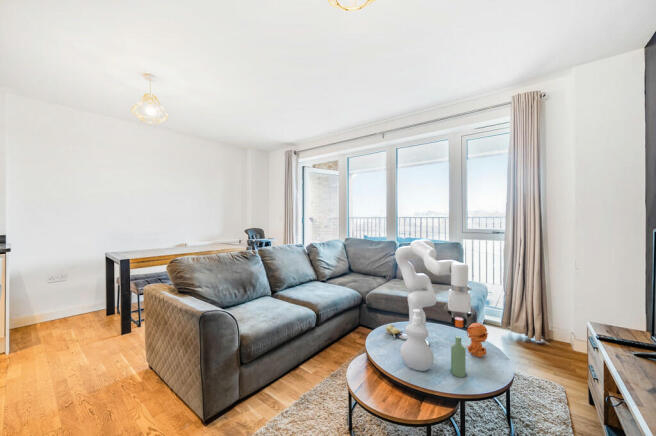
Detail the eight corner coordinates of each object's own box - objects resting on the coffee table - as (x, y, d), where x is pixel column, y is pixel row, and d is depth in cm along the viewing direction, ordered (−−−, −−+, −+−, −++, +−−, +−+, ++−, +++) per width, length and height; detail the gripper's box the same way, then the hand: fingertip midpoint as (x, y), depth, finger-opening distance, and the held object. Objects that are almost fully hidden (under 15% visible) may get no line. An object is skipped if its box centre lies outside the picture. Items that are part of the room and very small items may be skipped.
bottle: (451, 375, 131) (451, 338, 131) (450, 368, 137) (450, 333, 136) (466, 378, 128) (466, 341, 128) (464, 371, 134) (465, 335, 134)
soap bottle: (436, 366, 138) (436, 309, 138) (431, 377, 129) (431, 317, 128) (404, 356, 148) (404, 304, 147) (396, 366, 138) (396, 310, 138)
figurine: (409, 340, 172) (390, 329, 182) (411, 332, 171) (391, 321, 181) (401, 345, 165) (381, 334, 176) (402, 337, 164) (382, 326, 175)
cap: (464, 327, 130) (464, 320, 129) (455, 327, 130) (455, 320, 130) (462, 324, 133) (462, 317, 133) (453, 323, 134) (453, 316, 134)
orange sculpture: (492, 360, 143) (492, 327, 143) (470, 358, 146) (470, 325, 145) (484, 350, 154) (484, 319, 154) (464, 348, 156) (464, 318, 156)
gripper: (477, 288, 132) (477, 325, 132) (441, 284, 138) (440, 319, 139) (479, 292, 125) (479, 331, 125) (440, 288, 132) (440, 325, 132)
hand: (458, 324), depth 132 cm, fingers closed on cap, 4 cm apart
